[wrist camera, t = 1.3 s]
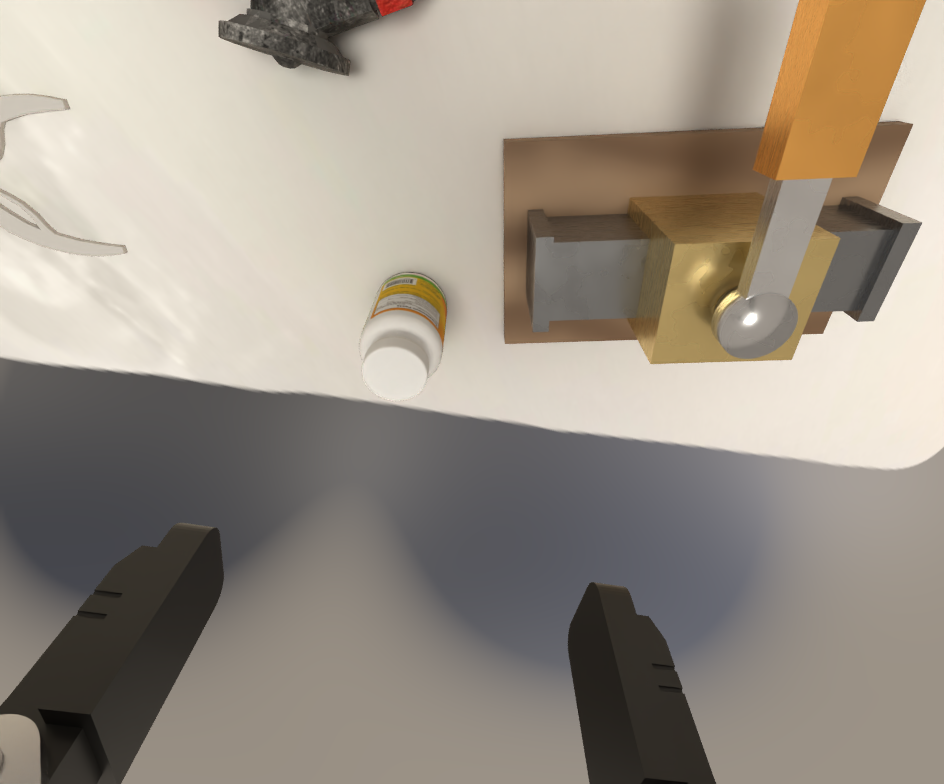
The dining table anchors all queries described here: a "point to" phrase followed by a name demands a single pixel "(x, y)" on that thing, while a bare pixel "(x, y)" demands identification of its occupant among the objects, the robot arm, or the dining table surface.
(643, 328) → the valve and pipe
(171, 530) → the robot arm
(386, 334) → the supplement bottle
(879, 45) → the valve lever
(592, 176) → the walnut board
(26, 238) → the pliers
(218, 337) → the dining table surface
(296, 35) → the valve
